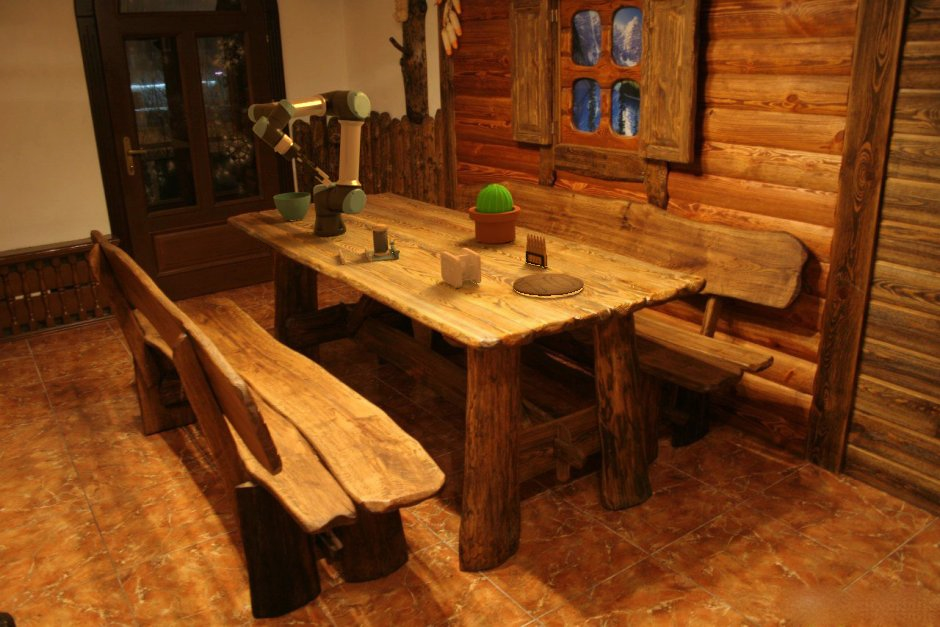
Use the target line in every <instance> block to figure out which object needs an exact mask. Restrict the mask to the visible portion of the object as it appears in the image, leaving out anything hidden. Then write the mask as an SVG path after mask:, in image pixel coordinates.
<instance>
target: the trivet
mask: <svg viewBox="0 0 940 627" xmlns="http://www.w3.org/2000/svg"><path fill="white" fill-rule="evenodd" d="M512 286H513V287H514V289H515V290H516V291H518V292H520V293H524V294H529V295H538V296H551V295H563V294H568V293H572V292H575V291H578V290H580V289H581V288H583V286H584V287H585V283H584V281H583V280H582V279H581V278H579V277H577V276H574V275H569V274H565V273H553V272H552V273H535V274H530V275H525V276H522V277H519V278H517V279H516V280H514V282H513V283H512ZM514 289H513V290H514ZM583 289H584V288H583Z"/></svg>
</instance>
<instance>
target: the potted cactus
mask: <svg viewBox="0 0 940 627" xmlns="http://www.w3.org/2000/svg"><path fill="white" fill-rule="evenodd" d="M476 195H477V198H476V203H475V206H472V207H470V208H468V217H469V219H470V220H471V221H473V222H474V231H475V232H474V234H475V235H474V237H475V240H476V242H479V243H482V244H489V245H496V244H498V243H499V244H506V243H510V242H512V241H514V240H516V220H519V219H520V218H521V214H522V213H521V207H520V206H518V205H515V204H514V198H513V196H512V194H511V191H509V189H508V188H506V186H505V187H504V185H502V184H501V183H500V184H499V183H496V182H495V183H490V184H488V183H487V184H486V185H484V186H483V187H481V189H480V191H479V192H478V194H476ZM509 241H510V242H509ZM505 242H506V243H505Z"/></svg>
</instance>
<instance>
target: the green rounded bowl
mask: <svg viewBox="0 0 940 627" xmlns="http://www.w3.org/2000/svg"><path fill="white" fill-rule="evenodd" d="M311 198H312V197H311V193H309V192H305V191H303V192H299V191H297V192H295V191H293V192H286V193H281V194H276V195H274V196H273V202H274V205H275V207H276V210H277V211H278V213H279V214H280V216H281V217H282V218H283V219H284V220H285V219H286V220H285V221H287V220H298V219H302V220H304V218H305V217H306V216H307V213H308V211H309V208H310V206H311Z"/></svg>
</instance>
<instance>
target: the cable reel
mask: <svg viewBox="0 0 940 627" xmlns="http://www.w3.org/2000/svg"><path fill="white" fill-rule="evenodd" d="M371 231H372V241H373V251H374V256H377V257H383V256H388V255H389V251H388V249H389V239H388V238H389V237H388V225H387V224H375V225H372V226H371Z"/></svg>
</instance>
